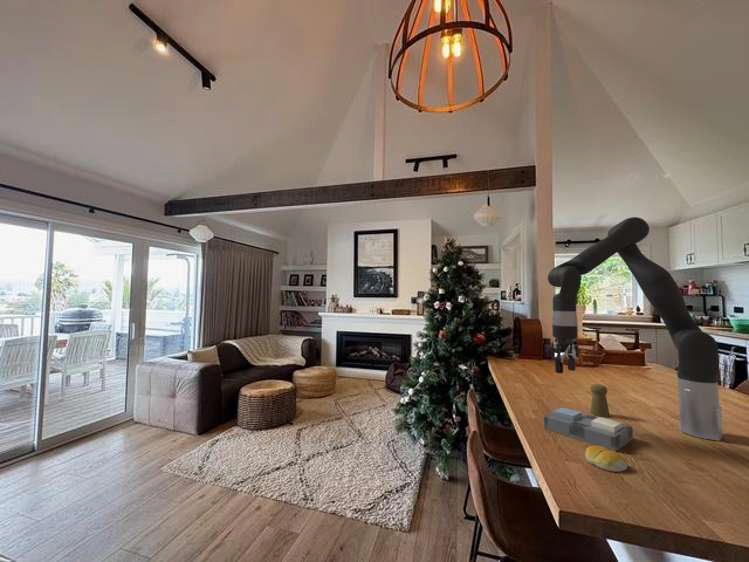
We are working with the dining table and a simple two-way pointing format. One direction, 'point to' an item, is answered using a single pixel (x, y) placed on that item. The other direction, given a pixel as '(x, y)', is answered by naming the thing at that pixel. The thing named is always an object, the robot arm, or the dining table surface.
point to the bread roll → (605, 459)
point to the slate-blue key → (568, 414)
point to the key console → (589, 431)
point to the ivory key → (606, 424)
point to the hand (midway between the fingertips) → (565, 371)
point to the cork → (599, 401)
